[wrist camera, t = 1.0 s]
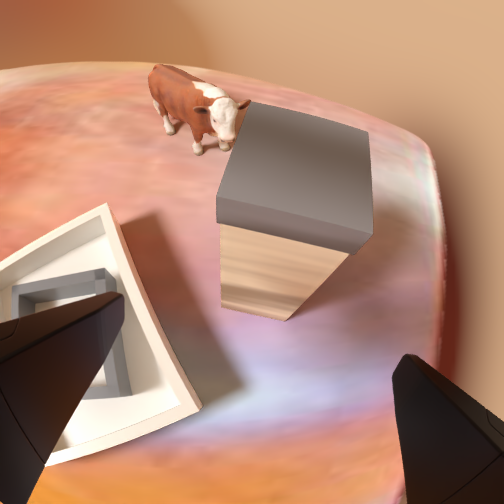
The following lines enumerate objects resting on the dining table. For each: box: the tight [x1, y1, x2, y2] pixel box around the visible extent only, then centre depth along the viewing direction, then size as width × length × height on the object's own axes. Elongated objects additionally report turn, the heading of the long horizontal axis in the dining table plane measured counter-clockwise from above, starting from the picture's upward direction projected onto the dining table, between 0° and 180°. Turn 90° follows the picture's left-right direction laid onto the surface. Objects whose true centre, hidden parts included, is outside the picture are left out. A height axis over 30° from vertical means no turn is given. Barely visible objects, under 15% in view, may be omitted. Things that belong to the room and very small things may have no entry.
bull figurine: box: [148, 64, 251, 155], centre depth 25 cm, size 4×13×8 cm, turn 41°
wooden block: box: [216, 102, 373, 321], centre depth 16 cm, size 5×5×14 cm
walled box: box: [0, 203, 203, 466], centre depth 17 cm, size 16×14×4 cm
